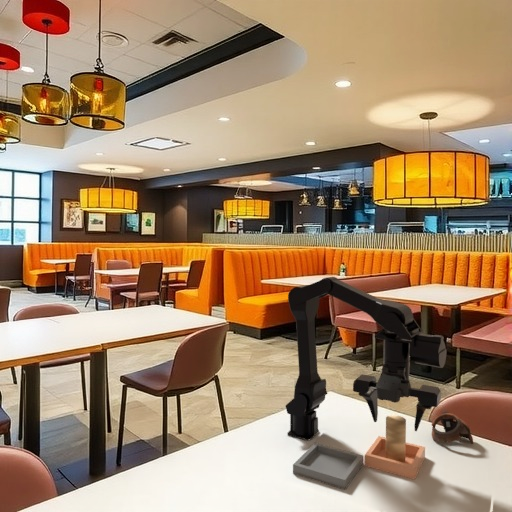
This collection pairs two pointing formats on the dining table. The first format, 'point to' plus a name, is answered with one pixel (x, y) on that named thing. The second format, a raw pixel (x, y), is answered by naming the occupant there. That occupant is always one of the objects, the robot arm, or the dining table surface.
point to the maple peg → (396, 438)
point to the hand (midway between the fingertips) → (395, 425)
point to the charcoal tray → (328, 465)
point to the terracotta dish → (408, 469)
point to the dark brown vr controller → (450, 428)
